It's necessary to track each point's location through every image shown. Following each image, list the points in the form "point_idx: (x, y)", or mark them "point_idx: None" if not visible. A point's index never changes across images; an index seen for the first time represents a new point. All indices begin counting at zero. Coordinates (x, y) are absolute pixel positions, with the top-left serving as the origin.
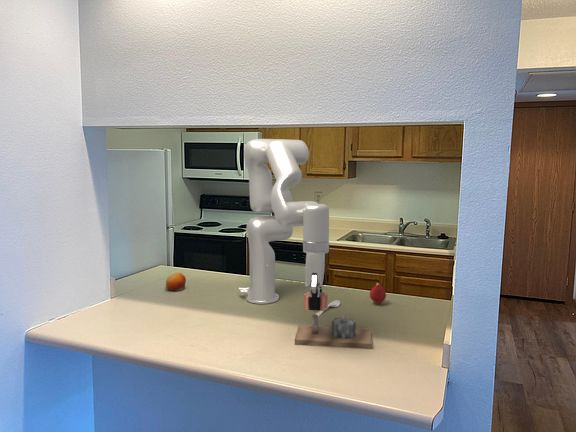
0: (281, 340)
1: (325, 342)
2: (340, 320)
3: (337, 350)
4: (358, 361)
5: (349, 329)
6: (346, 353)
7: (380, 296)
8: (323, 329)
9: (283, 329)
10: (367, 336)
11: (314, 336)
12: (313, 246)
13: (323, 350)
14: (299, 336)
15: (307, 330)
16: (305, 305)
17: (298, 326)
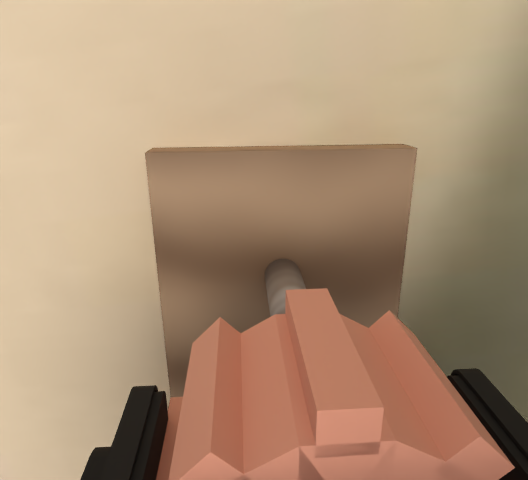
0: (202, 41)
1: (165, 341)
2: None
3: (132, 386)
4: (36, 473)
5: None
6: (108, 425)
7: None
8: (350, 318)
9: (411, 23)
10: None
11: (224, 278)
12: None
13: (112, 323)
14: (206, 181)
15: (323, 222)
16: (288, 323)
17: (393, 150)
